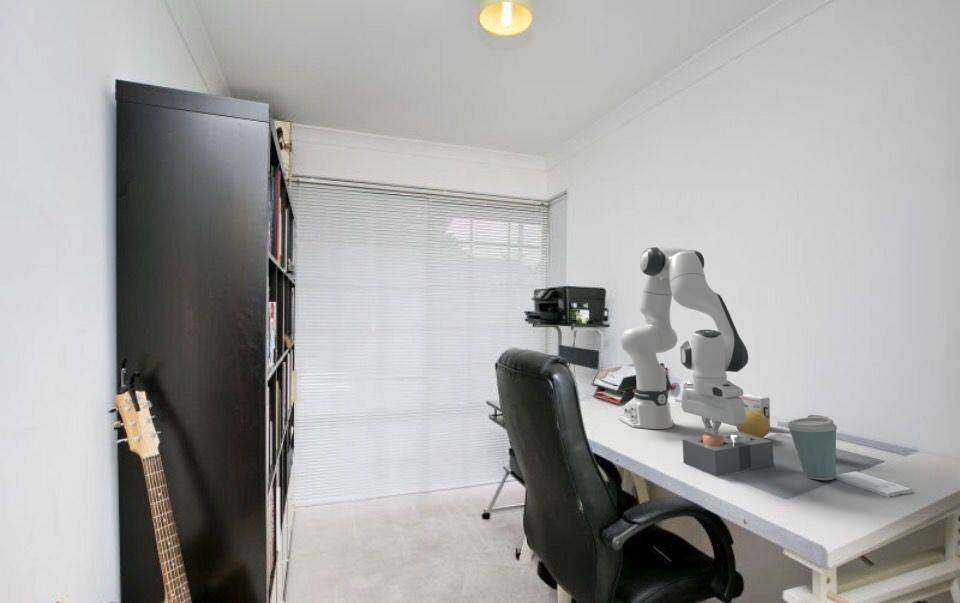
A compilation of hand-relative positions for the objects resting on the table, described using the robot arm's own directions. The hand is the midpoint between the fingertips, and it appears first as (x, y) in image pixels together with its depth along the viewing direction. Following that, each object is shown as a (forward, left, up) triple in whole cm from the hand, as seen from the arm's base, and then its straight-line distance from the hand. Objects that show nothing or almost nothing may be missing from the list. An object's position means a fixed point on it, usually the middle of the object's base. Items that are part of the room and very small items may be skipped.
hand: (711, 433), depth 130 cm
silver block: (0, +10, -9) cm, 13 cm away
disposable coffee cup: (+17, +18, -9) cm, 27 cm away
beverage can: (+6, +34, -10) cm, 36 cm away
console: (0, +5, -9) cm, 11 cm away
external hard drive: (+26, +25, -10) cm, 37 cm away
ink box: (-26, +46, -10) cm, 54 cm away
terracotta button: (0, 0, -8) cm, 8 cm away
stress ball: (-15, +32, -10) cm, 37 cm away
